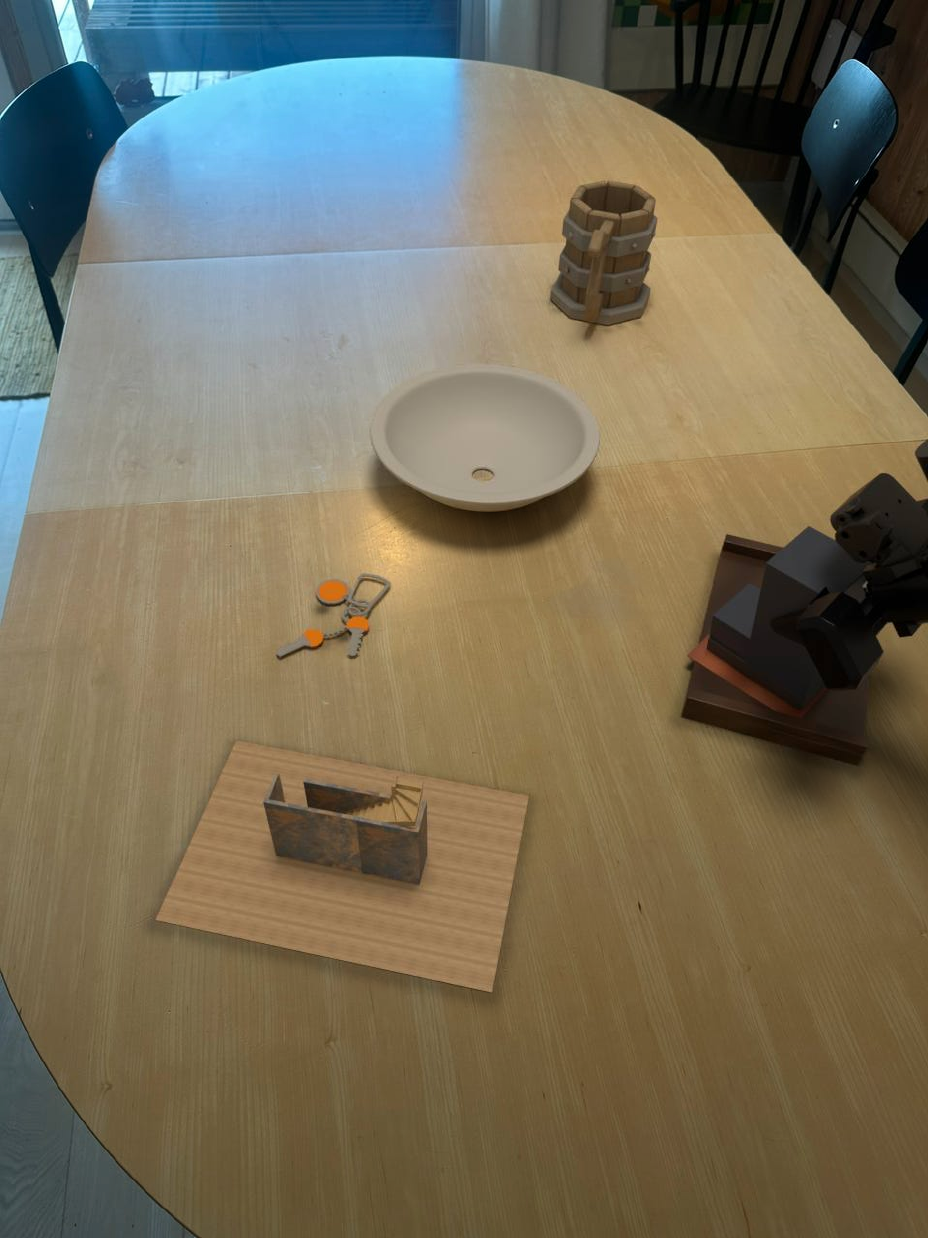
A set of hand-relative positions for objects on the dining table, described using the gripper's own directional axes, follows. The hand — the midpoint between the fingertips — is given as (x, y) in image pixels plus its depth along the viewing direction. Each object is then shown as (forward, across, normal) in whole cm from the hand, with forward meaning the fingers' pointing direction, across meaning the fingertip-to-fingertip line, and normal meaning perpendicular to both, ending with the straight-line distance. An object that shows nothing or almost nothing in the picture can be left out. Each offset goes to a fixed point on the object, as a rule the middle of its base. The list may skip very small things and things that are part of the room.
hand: (793, 605), depth 80 cm
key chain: (+30, +22, -16) cm, 41 cm away
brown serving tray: (+8, -5, +6) cm, 11 cm away
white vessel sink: (+34, -4, -20) cm, 39 cm away
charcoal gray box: (+6, -1, +5) cm, 8 cm away
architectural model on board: (+17, +37, -3) cm, 41 cm away
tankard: (+42, -40, -28) cm, 65 cm away
